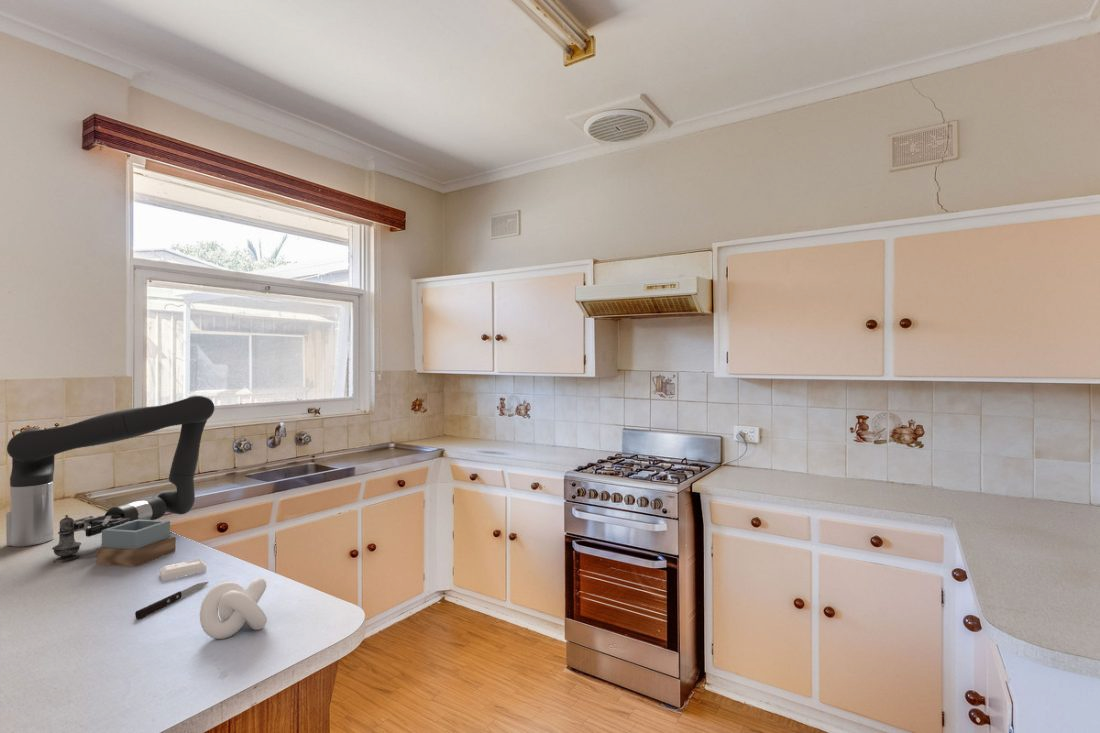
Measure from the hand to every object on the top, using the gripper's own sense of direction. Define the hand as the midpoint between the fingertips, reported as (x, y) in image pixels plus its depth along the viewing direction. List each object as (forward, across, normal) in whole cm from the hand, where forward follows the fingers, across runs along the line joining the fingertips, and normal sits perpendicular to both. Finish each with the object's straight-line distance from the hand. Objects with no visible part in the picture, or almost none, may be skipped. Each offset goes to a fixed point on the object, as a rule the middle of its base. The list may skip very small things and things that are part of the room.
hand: (73, 532), depth 147 cm
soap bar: (+6, +40, +7) cm, 41 cm away
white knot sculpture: (+28, +74, +7) cm, 80 cm away
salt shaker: (+2, 0, +7) cm, 7 cm away
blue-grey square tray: (-2, +18, +3) cm, 18 cm away
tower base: (-2, +18, +7) cm, 19 cm away
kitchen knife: (+20, +51, +7) cm, 55 cm away
